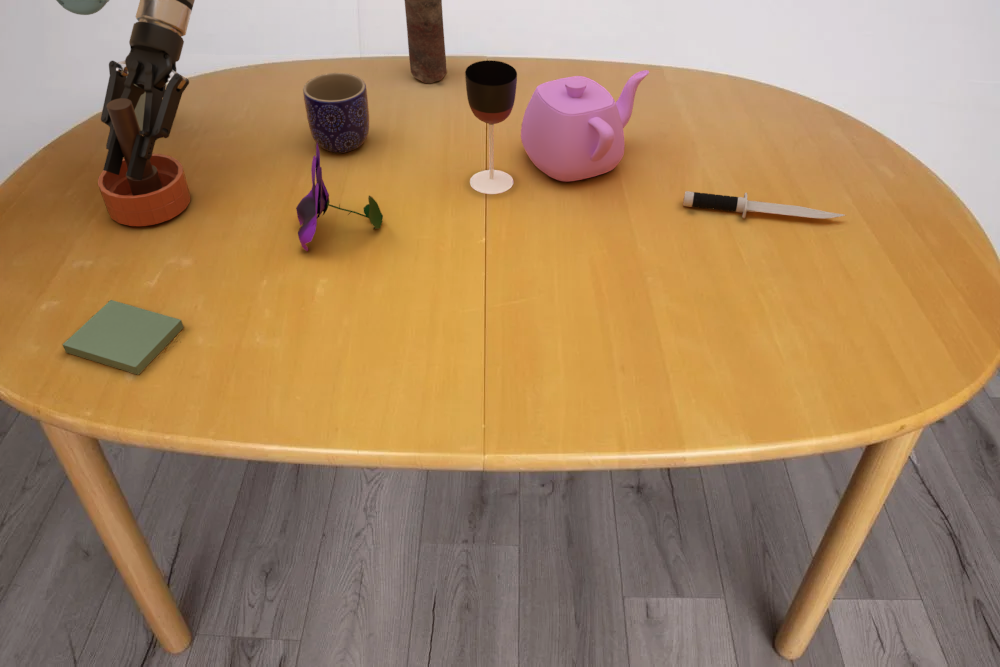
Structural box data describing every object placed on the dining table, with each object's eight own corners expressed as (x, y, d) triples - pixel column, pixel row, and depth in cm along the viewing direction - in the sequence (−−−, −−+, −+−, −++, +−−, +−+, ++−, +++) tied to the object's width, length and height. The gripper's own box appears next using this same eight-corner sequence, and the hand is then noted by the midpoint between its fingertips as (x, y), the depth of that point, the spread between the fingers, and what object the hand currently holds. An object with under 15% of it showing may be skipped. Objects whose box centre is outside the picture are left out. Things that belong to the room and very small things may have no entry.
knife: (684, 200, 142) (686, 183, 145) (682, 213, 143) (683, 196, 147) (849, 219, 138) (847, 201, 142) (845, 232, 140) (843, 214, 143)
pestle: (126, 197, 142) (95, 108, 131) (145, 182, 145) (116, 94, 134) (151, 203, 140) (121, 114, 129) (169, 188, 144) (142, 99, 133)
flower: (362, 228, 148) (284, 205, 142) (397, 156, 141) (317, 128, 134) (370, 282, 138) (287, 260, 132) (409, 207, 130) (322, 180, 124)
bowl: (92, 219, 142) (80, 187, 138) (143, 177, 151) (133, 147, 146) (159, 236, 138) (148, 204, 134) (207, 193, 147) (198, 162, 143)
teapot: (561, 208, 144) (567, 126, 134) (507, 147, 158) (508, 69, 148) (678, 176, 151) (691, 96, 141) (616, 120, 165) (624, 44, 155)
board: (65, 352, 119) (61, 344, 118) (113, 307, 126) (110, 299, 125) (138, 375, 116) (135, 367, 115) (184, 327, 123) (181, 319, 122)
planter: (304, 157, 156) (294, 99, 148) (320, 126, 164) (312, 70, 156) (364, 161, 155) (357, 103, 147) (378, 129, 163) (372, 73, 155)
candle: (402, 76, 178) (394, -23, 165) (427, 63, 182) (421, -34, 169) (429, 87, 175) (423, -13, 161) (454, 74, 179) (450, -24, 165)
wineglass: (501, 163, 154) (502, 56, 140) (523, 189, 148) (526, 79, 135) (460, 174, 152) (456, 66, 138) (481, 200, 146) (479, 90, 132)
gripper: (219, 47, 138) (182, 191, 138) (131, 31, 142) (95, 170, 142) (190, 28, 130) (151, 180, 130) (99, 11, 135) (61, 158, 135)
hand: (122, 174), depth 136 cm, fingers closed on pestle, 4 cm apart
